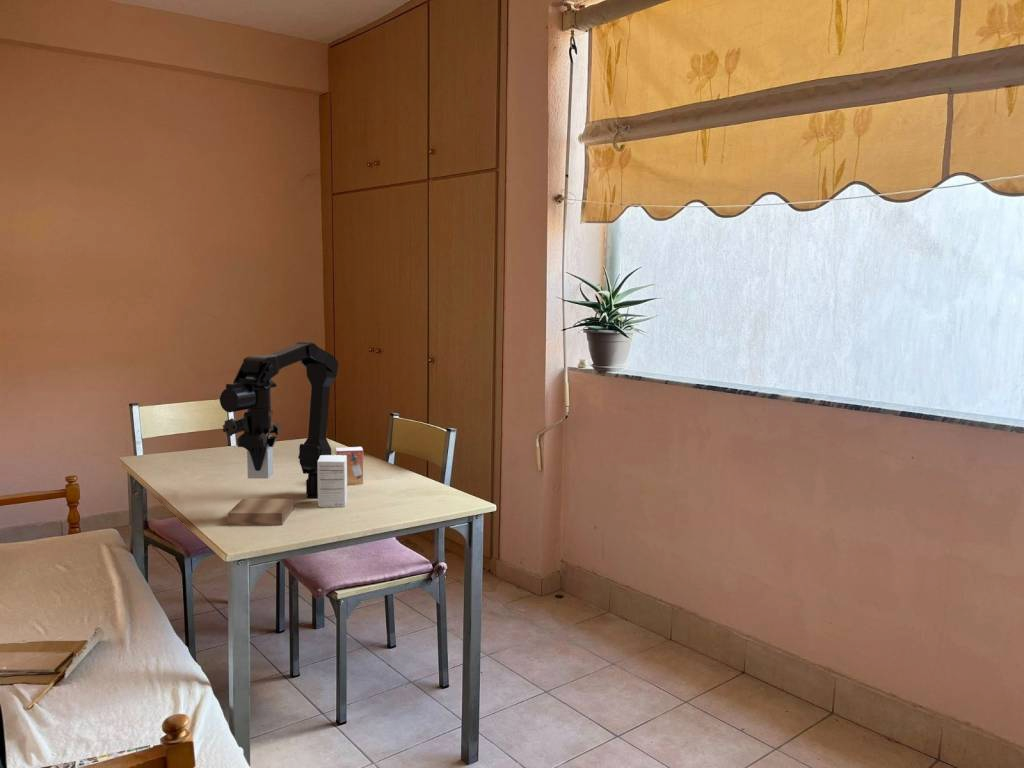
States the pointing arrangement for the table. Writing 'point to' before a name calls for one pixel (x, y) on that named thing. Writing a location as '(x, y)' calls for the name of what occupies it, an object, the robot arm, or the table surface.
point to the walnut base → (260, 512)
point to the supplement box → (332, 480)
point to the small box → (353, 464)
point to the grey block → (266, 466)
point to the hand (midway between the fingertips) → (260, 468)
